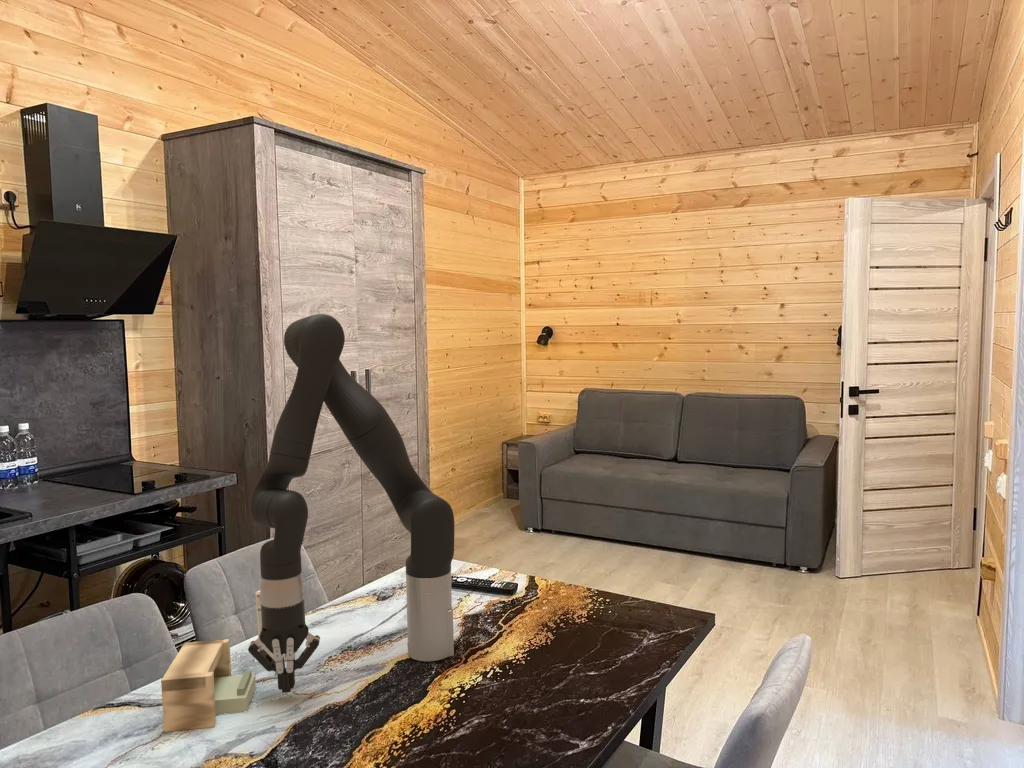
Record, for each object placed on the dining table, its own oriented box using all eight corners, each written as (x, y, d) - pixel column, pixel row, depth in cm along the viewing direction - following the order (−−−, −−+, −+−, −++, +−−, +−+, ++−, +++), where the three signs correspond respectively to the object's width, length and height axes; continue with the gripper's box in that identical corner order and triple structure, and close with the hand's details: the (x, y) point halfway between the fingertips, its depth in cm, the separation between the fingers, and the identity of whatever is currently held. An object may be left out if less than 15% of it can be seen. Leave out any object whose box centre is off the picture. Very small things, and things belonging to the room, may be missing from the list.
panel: (255, 689, 140) (255, 667, 140) (246, 713, 131) (245, 691, 131) (194, 694, 139) (193, 672, 138) (181, 720, 130) (179, 696, 129)
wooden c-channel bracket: (231, 684, 141) (229, 639, 140) (214, 726, 126) (211, 675, 126) (187, 689, 140) (184, 642, 139) (164, 731, 125) (161, 680, 124)
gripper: (322, 588, 139) (325, 677, 140) (248, 593, 137) (252, 684, 138) (318, 602, 132) (322, 697, 133) (240, 609, 129) (245, 704, 131)
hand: (286, 690), depth 136 cm, fingers closed
